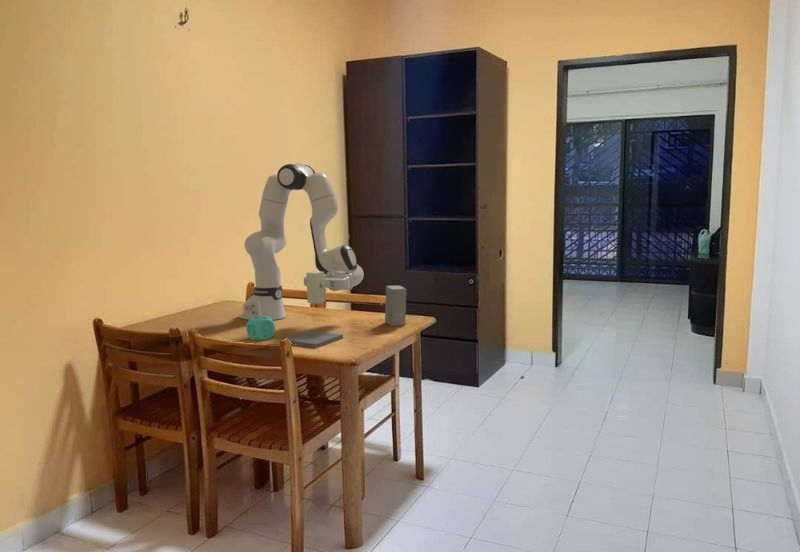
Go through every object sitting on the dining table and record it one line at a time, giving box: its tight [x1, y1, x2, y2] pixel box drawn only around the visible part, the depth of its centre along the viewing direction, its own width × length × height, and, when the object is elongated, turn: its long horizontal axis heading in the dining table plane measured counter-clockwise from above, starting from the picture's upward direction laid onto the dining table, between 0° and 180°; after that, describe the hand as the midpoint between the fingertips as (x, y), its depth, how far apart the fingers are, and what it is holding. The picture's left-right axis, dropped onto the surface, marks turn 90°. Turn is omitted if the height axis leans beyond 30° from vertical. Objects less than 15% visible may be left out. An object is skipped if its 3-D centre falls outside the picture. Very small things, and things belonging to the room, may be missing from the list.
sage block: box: [305, 270, 326, 305], centre depth 243 cm, size 5×5×12 cm
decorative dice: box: [245, 316, 276, 342], centre depth 236 cm, size 8×8×8 cm
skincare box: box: [384, 285, 407, 327], centre depth 255 cm, size 8×7×16 cm
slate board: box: [287, 329, 344, 349], centre depth 231 cm, size 16×16×2 cm
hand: (314, 285), depth 242 cm, fingers closed on sage block, 5 cm apart
